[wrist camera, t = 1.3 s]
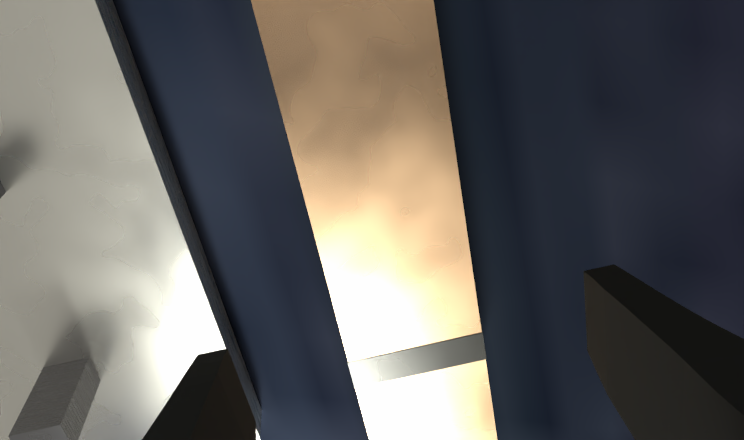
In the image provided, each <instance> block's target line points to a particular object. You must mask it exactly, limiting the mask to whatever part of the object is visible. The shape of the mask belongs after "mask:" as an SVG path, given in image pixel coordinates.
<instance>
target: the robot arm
mask: <svg viewBox="0 0 744 440" xmlns="http://www.w3.org/2000/svg"><path fill="white" fill-rule="evenodd" d="M584 288H585V308H586V329H587V350H588V353H589V355H590V357H591V360H592V362H593V364H594V366H595V369H596V371H597V373H598V375H599V378H600V380H601V382H602V384H603V386H604V388H605V390H606V393H607V395H608V396H609V398H610V400H611V401H612V403H613V405H614V406H615V408H616V409H617V411H618V413H619V414H620V416H621V418H622V419H623V421H624V422H625V424H626V426H627V427H628V429H629V431H630V432H631V434H632V435H633V437H634V439H635V440H744V339H743V338H741V337H739V336H737V335H735V334H733V333H731V332H729V331H727V330H725V329H723V328H721V327H719V326H717V325H715V324H713V323H712V322H710V321H708V320H706V319H704V318H702V317H701V316H699V315H697V314H695V313H693V312H692V311H690V310H688V309H687V308H685V307H683V306H681V305H680V304H678V303H676V302H675V301H673V300H671V299H670V298H668V297H666V296H665V295H663V294H661V293H660V292H658V291H656V290H655V289H653V288H652V287H650V286H648V285H647V284H645V283H644V282H642V281H640V280H639V279H637V278H635V277H634V276H632V275H631V274H629V273H627V272H626V271H624V270H623V269H621V268H619V267H617V266H616V265H610V266H605V267H601V268H596V269H591V270H587V271H584ZM142 440H257V439H256V421H255V418H254V415H253V413H252V410H251V408H250V405H249V403H248V400H247V397H246V395H245V392H244V390H243V387H242V384H241V382H240V379H239V377H238V374H237V371H236V369H235V366H234V364H233V361H232V359H231V356H230V353H229V351H228V348H226V349H222V350H217V351H212V352H208V353H203V354H199V355H197V357H196V358H195V360H194V361H193V362H192V364H191V365H190V367H189V368H188V370H187V372H186V373H185V375H184V376H183V378H182V379H181V381H180V383H179V384H178V386H177V387H176V389H175V390H174V392H173V394H172V395H171V397H170V398H169V400H168V401H167V403H166V404H165V406H164V407H163V409H162V410H161V412H160V413H159V415H158V416H157V418H156V419H155V421H154V422H153V424H152V425H151V427H150V428H149V430H148V431H147V433H146V434H145V436H144V437H143V439H142Z"/></svg>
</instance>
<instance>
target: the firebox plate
mask: <svg viewBox="0 0 744 440" xmlns="http://www.w3.org/2000/svg"><path fill="white" fill-rule="evenodd" d="M226 348H228V351H229V353H230V356H231V359H232V361H233V364H234V366H235V369H236V371H237V374H238V377H239V379H240V382H241V384H242V387H243V390H244V392H245V395H246V397H247V400H248V403H249V405H250V408H251V410H252V413H253V415H254V418H255V421H256V439H257V440H260V429H261V412H262V409H261V407H260V404H259V401H258V398H257V396H256V393H255V390H254V387H253V385H252V382H251V379H250V376H249V374H248V371H247V368H246V365H245V363H244V360H243V357H242V354H241V352H240V349H239V346H238V343H237V341H236V338H235V335H234V332H233V330H232V327H231V324H230V321H229V319H228V316H227V313H226V310H225V308H224V305H223V302H222V299H221V297H220V294H219V291H218V288H217V286H216V283H215V280H214V277H213V275H212V272H211V269H210V266H209V264H208V261H207V258H206V255H205V253H204V250H203V247H202V244H201V241H200V239H199V236H198V233H197V230H196V228H195V225H194V222H193V219H192V217H191V214H190V211H189V208H188V206H187V203H186V200H185V197H184V195H183V192H182V189H181V186H180V184H179V181H178V178H177V175H176V173H175V170H174V167H173V164H172V162H171V159H170V156H169V153H168V151H167V148H166V145H165V142H164V140H163V137H162V134H161V131H160V129H159V126H158V123H157V120H156V118H155V115H154V112H153V109H152V107H151V104H150V101H149V98H148V96H147V93H146V90H145V87H144V85H143V82H142V79H141V76H140V74H139V71H138V68H137V65H136V63H135V60H134V57H133V54H132V52H131V49H130V46H129V43H128V41H127V38H126V35H125V32H124V30H123V27H122V24H121V21H120V19H119V16H118V13H117V10H116V8H115V5H114V2H113V0H0V440H142V439H143V437H144V436H145V434H146V433H147V431H148V430H149V428H150V427H151V425H152V424H153V422H154V421H155V419H156V418H157V416H158V415H159V413H160V412H161V410H162V409H163V407H164V406H165V404H166V403H167V401H168V400H169V398H170V397H171V395H172V394H173V392H174V390H175V389H176V387H177V386H178V384H179V383H180V381H181V379H182V378H183V376H184V375H185V373H186V372H187V370H188V368H189V367H190V365H191V364H192V362H193V361H194V360H195V358H196V357H197V355H199V354H203V353H208V352H212V351H217V350H222V349H226Z"/></svg>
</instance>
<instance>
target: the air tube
mask: <svg viewBox="0 0 744 440" xmlns="http://www.w3.org/2000/svg"><path fill="white" fill-rule="evenodd" d="M251 2H252V6H253V10H254V13H255V17H256V21H257V25H258V28H259V32H260V36H261V39H262V43H263V47H264V51H265V54H266V58H267V62H268V65H269V69H270V73H271V77H272V80H273V84H274V88H275V91H276V95H277V99H278V103H279V106H280V110H281V114H282V117H283V121H284V125H285V129H286V132H287V136H288V140H289V143H290V147H291V151H292V155H293V158H294V162H295V166H296V169H297V173H298V177H299V181H300V184H301V188H302V192H303V195H304V199H305V203H306V207H307V210H308V214H309V218H310V221H311V225H312V229H313V233H314V236H315V240H316V244H317V247H318V251H319V255H320V259H321V262H322V266H323V270H324V273H325V277H326V281H327V285H328V288H329V292H330V296H331V299H332V303H333V307H334V311H335V314H336V318H337V322H338V325H339V329H340V333H341V337H342V340H343V344H344V348H345V351H346V355H347V360H348V365H349V369H350V373H351V377H352V380H353V384H354V388H355V389H356V392H357V396H358V400H359V403H360V407H361V411H362V415H363V418H364V422H365V426H366V429H367V433H368V437H369V440H497V434H496V427H495V420H494V413H493V407H492V400H491V393H490V386H489V379H488V372H487V365H486V353H485V346H484V339H483V333H482V330H481V324H480V317H479V310H478V303H477V296H476V289H475V283H474V276H473V269H472V262H471V255H470V248H469V241H468V234H467V227H466V220H465V214H464V207H463V200H462V193H461V186H460V179H459V172H458V165H457V158H456V152H455V145H454V138H453V131H452V124H451V117H450V110H449V103H448V96H447V90H446V83H445V76H444V69H443V62H442V55H441V48H440V41H439V34H438V28H437V21H436V14H435V7H434V0H251Z"/></svg>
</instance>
